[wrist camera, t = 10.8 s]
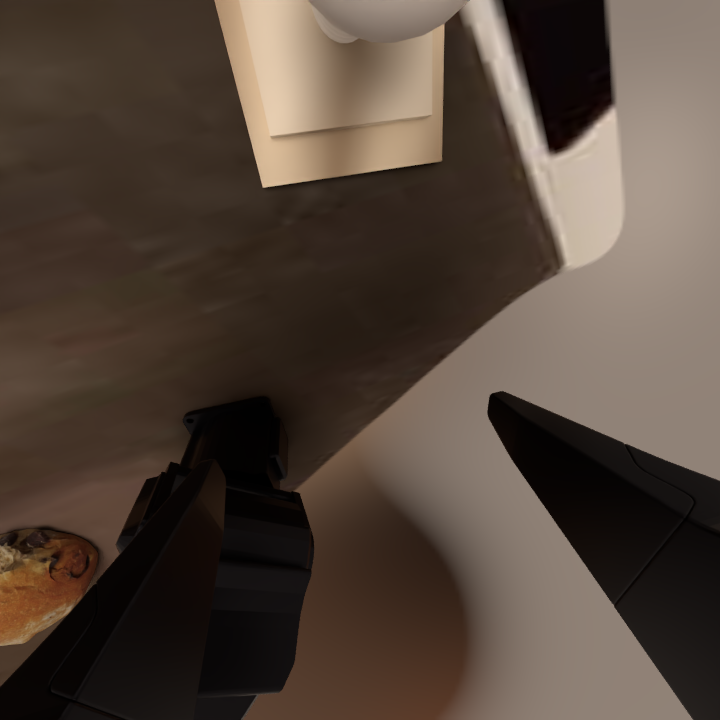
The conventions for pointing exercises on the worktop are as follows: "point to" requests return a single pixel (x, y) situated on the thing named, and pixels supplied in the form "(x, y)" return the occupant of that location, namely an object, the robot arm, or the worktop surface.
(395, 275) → the worktop surface
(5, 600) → the bread roll
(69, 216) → the worktop surface
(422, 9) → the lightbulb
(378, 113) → the base
